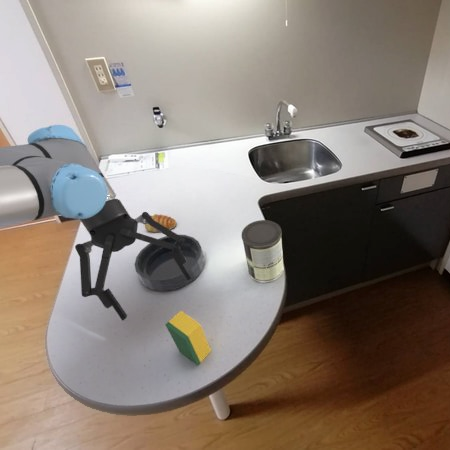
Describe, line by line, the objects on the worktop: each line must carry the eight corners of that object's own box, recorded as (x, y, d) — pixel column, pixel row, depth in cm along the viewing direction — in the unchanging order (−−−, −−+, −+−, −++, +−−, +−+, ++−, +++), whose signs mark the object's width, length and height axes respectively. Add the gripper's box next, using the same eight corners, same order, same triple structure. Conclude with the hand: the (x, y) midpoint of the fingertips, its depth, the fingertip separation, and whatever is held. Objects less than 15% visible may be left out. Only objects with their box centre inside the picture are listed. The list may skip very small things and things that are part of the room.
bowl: (176, 300, 80) (171, 288, 76) (127, 280, 85) (120, 268, 82) (216, 256, 92) (213, 244, 89) (171, 240, 97) (166, 228, 94)
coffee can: (240, 274, 86) (233, 237, 77) (262, 251, 93) (257, 215, 84) (270, 288, 82) (266, 251, 73) (290, 264, 89) (289, 227, 80)
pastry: (179, 219, 105) (176, 211, 103) (173, 233, 100) (170, 224, 98) (152, 220, 105) (148, 211, 103) (144, 233, 100) (140, 224, 98)
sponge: (197, 365, 66) (184, 339, 59) (179, 351, 69) (165, 324, 62) (211, 351, 69) (200, 324, 62) (193, 337, 72) (180, 310, 64)
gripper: (159, 181, 67) (209, 263, 71) (31, 239, 57) (97, 331, 61) (160, 174, 60) (215, 265, 64) (16, 239, 50) (91, 342, 54)
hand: (158, 297), depth 62 cm, fingers open, 13 cm apart
